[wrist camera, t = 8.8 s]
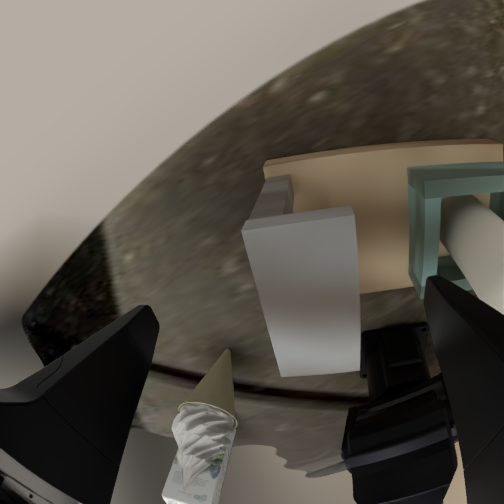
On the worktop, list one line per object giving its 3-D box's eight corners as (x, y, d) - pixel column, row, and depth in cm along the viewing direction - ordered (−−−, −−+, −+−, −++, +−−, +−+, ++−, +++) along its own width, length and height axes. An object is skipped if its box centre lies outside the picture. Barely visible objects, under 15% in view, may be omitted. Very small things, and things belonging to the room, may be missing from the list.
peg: (478, 241, 17) (533, 312, 10) (432, 248, 18) (479, 329, 11) (482, 188, 15) (552, 248, 8) (433, 194, 16) (496, 260, 9)
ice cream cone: (194, 348, 29) (142, 479, 16) (220, 324, 27) (166, 476, 14) (234, 372, 30) (198, 501, 17) (263, 351, 28) (233, 500, 15)
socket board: (481, 259, 19) (535, 336, 11) (293, 285, 24) (283, 384, 15) (488, 138, 15) (576, 178, 7) (266, 160, 19) (236, 214, 11)
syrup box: (198, 422, 38) (170, 507, 26) (193, 402, 35) (159, 498, 23) (236, 430, 37) (214, 518, 25) (236, 411, 34) (210, 512, 22)
